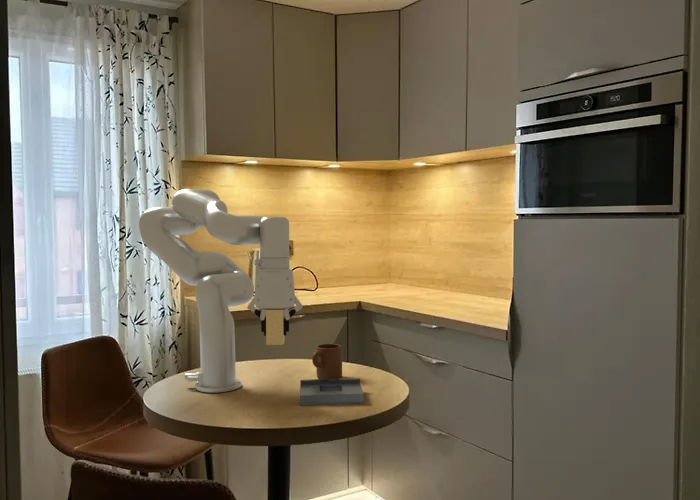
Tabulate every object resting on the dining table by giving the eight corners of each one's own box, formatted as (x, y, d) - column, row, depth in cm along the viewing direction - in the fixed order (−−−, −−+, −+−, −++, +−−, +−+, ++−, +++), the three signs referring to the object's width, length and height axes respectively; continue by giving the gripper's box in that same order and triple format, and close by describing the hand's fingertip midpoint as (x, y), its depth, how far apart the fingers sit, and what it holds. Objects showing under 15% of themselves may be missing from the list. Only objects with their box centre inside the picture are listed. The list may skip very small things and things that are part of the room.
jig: (299, 405, 156) (299, 391, 156) (300, 392, 168) (300, 379, 168) (363, 403, 157) (363, 389, 157) (359, 391, 169) (359, 378, 169)
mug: (324, 385, 175) (324, 352, 175) (302, 382, 179) (302, 349, 179) (347, 376, 186) (346, 345, 185) (325, 373, 190) (325, 342, 189)
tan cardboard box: (266, 345, 160) (266, 310, 160) (267, 341, 164) (267, 307, 164) (283, 344, 160) (283, 309, 160) (284, 341, 165) (284, 307, 164)
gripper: (240, 265, 157) (241, 337, 158) (307, 265, 158) (307, 337, 159) (243, 263, 165) (244, 332, 165) (307, 263, 166) (307, 331, 166)
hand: (275, 333), depth 162 cm, fingers closed on tan cardboard box, 4 cm apart
